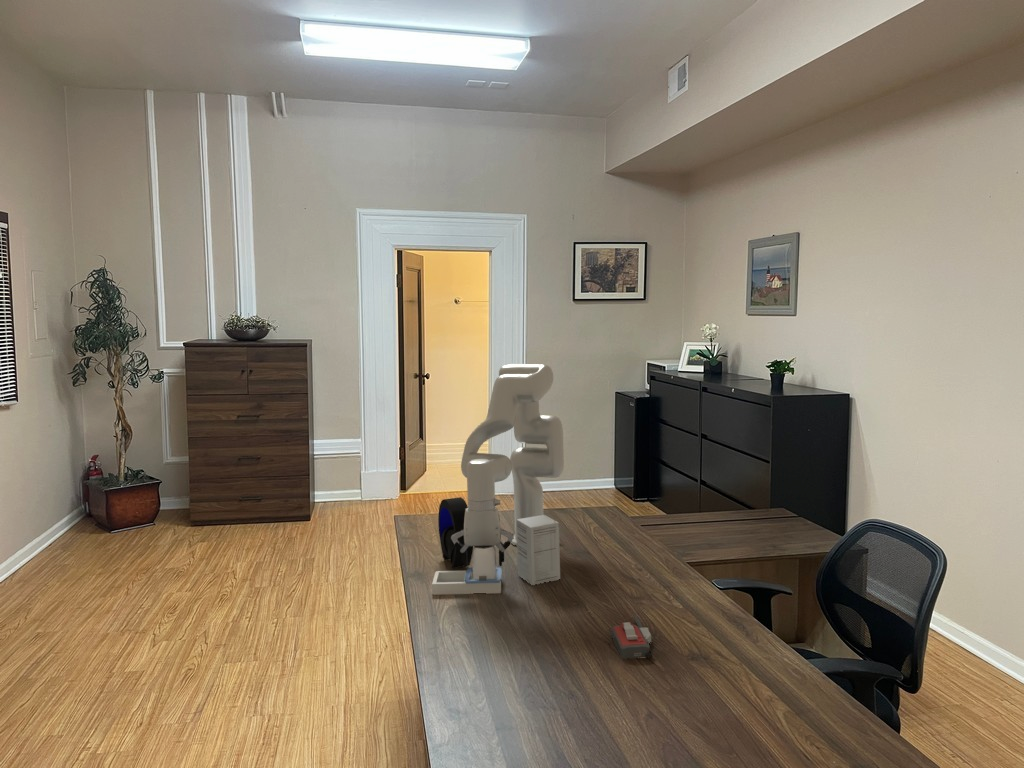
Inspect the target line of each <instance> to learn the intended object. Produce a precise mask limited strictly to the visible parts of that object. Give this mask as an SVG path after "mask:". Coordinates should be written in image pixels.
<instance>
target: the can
mask: <svg viewBox="0 0 1024 768" xmlns="http://www.w3.org/2000/svg"><path fill="white" fill-rule="evenodd" d="M472 568H473V580H477V579H479V576H487V579H497V577H496V568H497V551H496V547H495V546H473V552H472Z"/></svg>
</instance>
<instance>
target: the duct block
mask: <svg viewBox="0 0 1024 768" xmlns="http://www.w3.org/2000/svg"><path fill="white" fill-rule="evenodd" d="M502 573H503V569H502V568H501V566H500V567H496V577H497V579H487V576H479V579H477V580H473V567H468V568H467V569H466V570H436V571H435V572H434V577H433V579H432V583H431V591H432V592H431V593H432V595H435V596H436V595H441V596H442V595H473V593H486V594H501V593H502V576H503V575H502ZM470 593H471V594H470Z"/></svg>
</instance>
